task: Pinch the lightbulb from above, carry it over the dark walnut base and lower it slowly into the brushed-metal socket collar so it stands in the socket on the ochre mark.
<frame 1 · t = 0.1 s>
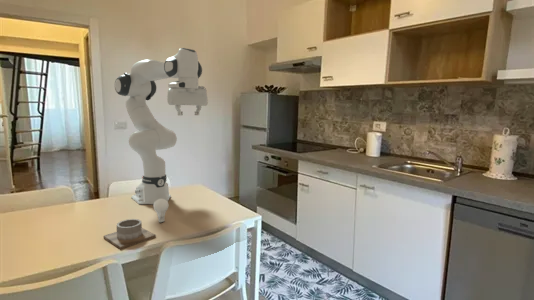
hand: (188, 115, 139), 48 cm above the table, tool pointing down, fingers open, 8 cm apart
lightbulb: (161, 222, 135), on the table
socket base: (129, 237, 119), on the table
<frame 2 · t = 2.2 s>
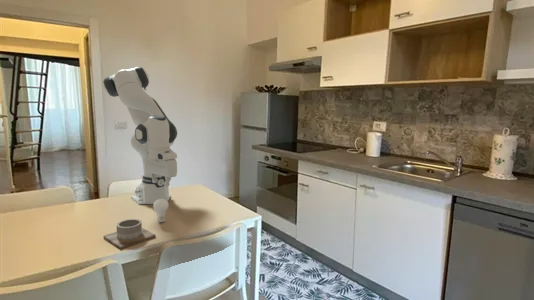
hand: (160, 184, 132), 18 cm above the table, tool pointing down, fingers open, 8 cm apart
nothing on the table moved.
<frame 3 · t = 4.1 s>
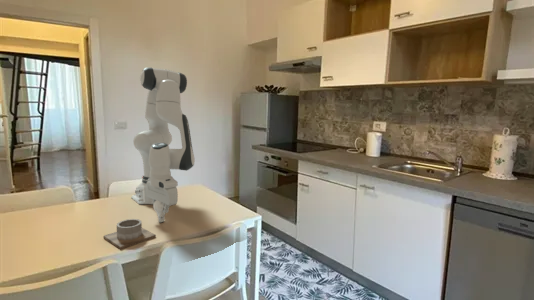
hand: (161, 210, 134), 6 cm above the table, tool pointing down, fingers closed on lightbulb, 6 cm apart
lightbulb: (161, 222, 135), on the table, touching gripper
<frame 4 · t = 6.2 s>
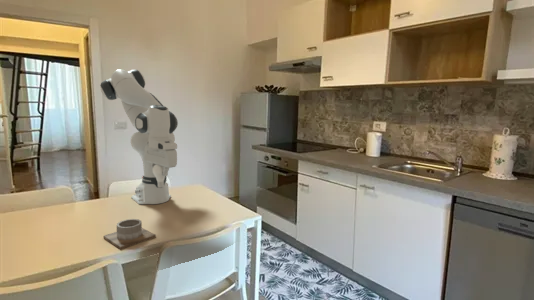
hand: (160, 174, 132), 22 cm above the table, tool pointing down, fingers closed on lightbulb, 6 cm apart
lightbulb: (160, 188, 133), point 16 cm above the table, touching gripper
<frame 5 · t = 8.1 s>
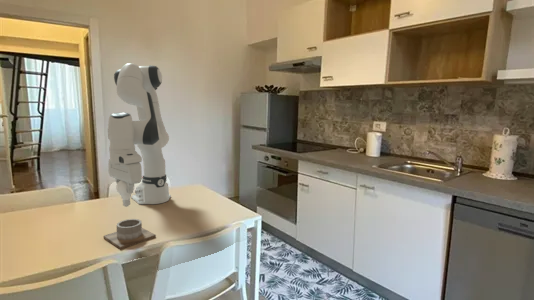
hand: (125, 191, 116), 19 cm above the table, tool pointing down, fingers closed on lightbulb, 6 cm apart
lightbulb: (126, 206, 117), point 13 cm above the table, touching gripper
when the fingers open (8 cm above the table, at t = 11.3 s): lightbulb moves 1 cm, resting on socket base.
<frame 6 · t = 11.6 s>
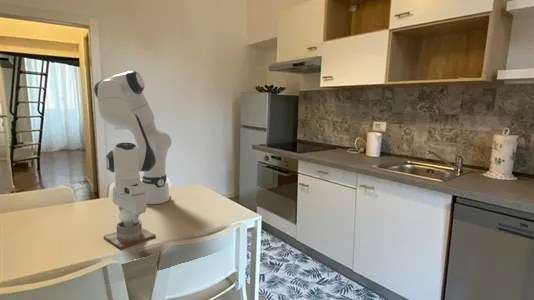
hand: (129, 219, 118), 8 cm above the table, tool pointing down, fingers open, 8 cm apart
lightbulb: (128, 234, 120), point 1 cm above the table, touching gripper, socket base
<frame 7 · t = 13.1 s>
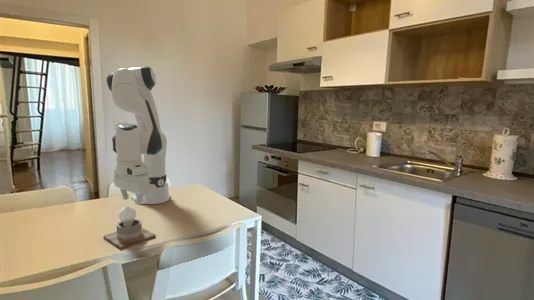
hand: (131, 201, 117), 15 cm above the table, tool pointing down, fingers open, 8 cm apart
lightbulb: (128, 233, 120), point 1 cm above the table, touching socket base
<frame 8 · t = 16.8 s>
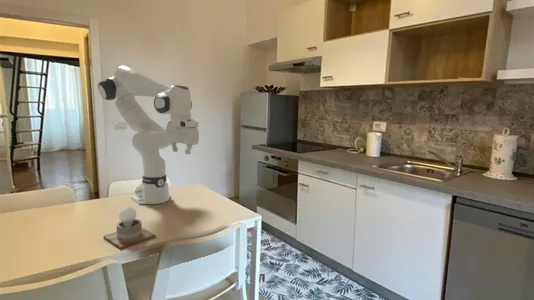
hand: (181, 152, 136), 31 cm above the table, tool pointing down, fingers open, 8 cm apart
nothing on the table moved.
at the end: lightbulb 1.6 cm from the socket base (horizontally); lightbulb tilted 0°; the gripper is holding nothing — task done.
